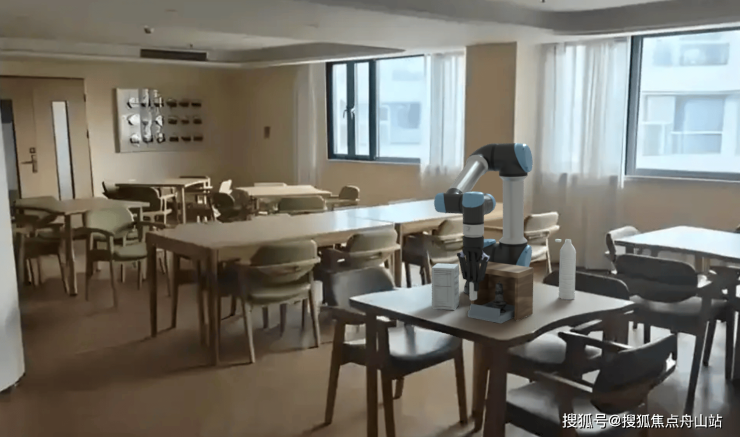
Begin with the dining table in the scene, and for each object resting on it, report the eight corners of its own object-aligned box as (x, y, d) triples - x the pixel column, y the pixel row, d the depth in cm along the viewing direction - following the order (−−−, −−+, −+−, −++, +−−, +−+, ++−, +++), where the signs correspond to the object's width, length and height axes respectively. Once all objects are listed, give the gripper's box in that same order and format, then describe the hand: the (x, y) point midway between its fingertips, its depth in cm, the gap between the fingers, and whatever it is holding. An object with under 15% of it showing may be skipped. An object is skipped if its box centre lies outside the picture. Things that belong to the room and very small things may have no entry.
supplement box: (459, 304, 267) (459, 263, 265) (454, 310, 258) (455, 268, 256) (436, 302, 270) (436, 262, 268) (431, 308, 261) (431, 267, 259)
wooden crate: (471, 311, 256) (471, 266, 254) (487, 305, 265) (487, 261, 263) (517, 320, 243) (518, 272, 241) (532, 313, 252) (533, 267, 250)
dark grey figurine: (504, 308, 256) (504, 278, 254) (508, 313, 250) (509, 282, 248) (489, 309, 255) (489, 279, 254) (493, 313, 249) (494, 282, 248)
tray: (467, 316, 249) (468, 303, 248) (491, 307, 262) (491, 295, 261) (500, 323, 240) (500, 310, 239) (523, 313, 253) (523, 300, 252)
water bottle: (571, 295, 279) (572, 237, 276) (577, 299, 272) (579, 240, 269) (551, 296, 278) (552, 238, 275) (556, 300, 272) (558, 240, 268)
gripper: (452, 235, 236) (452, 298, 239) (483, 238, 227) (483, 304, 231) (463, 232, 241) (463, 294, 245) (494, 235, 233) (494, 300, 236)
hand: (473, 299), depth 238 cm, fingers closed
